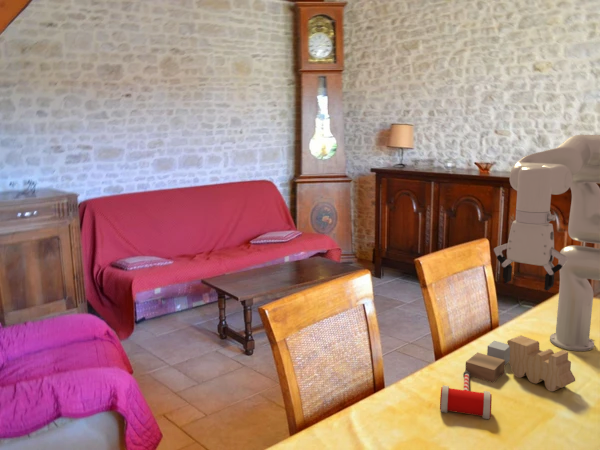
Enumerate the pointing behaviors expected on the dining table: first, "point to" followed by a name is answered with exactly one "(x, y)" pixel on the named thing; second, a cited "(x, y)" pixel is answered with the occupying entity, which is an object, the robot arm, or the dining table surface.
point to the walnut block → (485, 367)
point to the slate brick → (499, 351)
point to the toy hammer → (466, 400)
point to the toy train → (539, 363)
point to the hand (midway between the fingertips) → (527, 285)
